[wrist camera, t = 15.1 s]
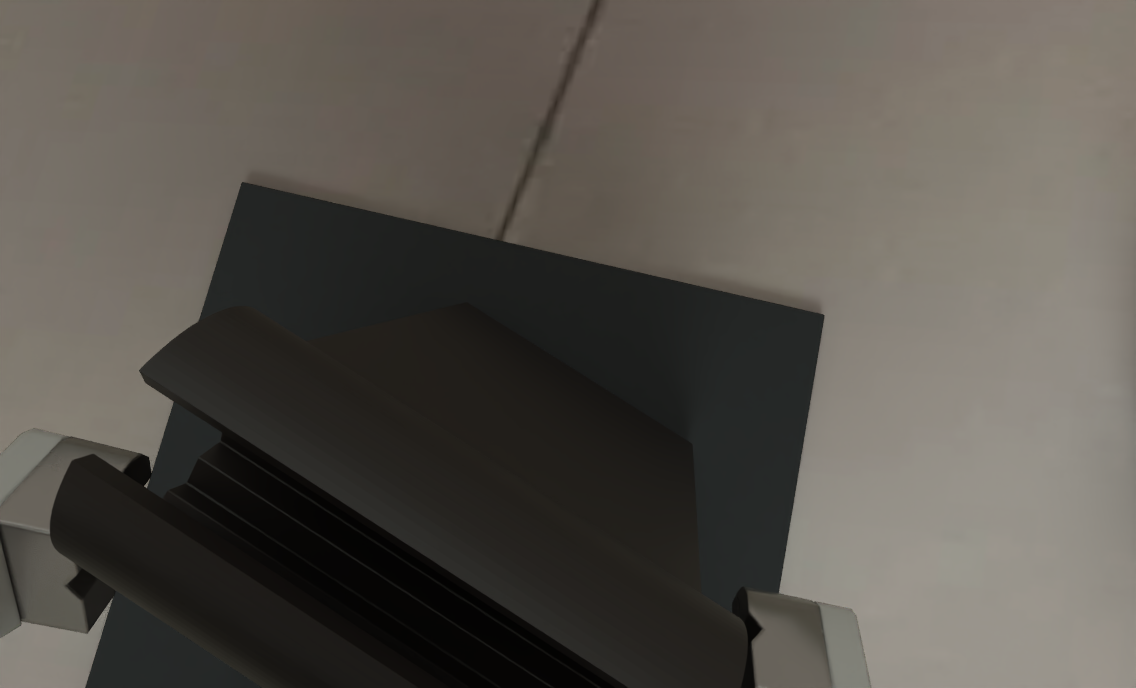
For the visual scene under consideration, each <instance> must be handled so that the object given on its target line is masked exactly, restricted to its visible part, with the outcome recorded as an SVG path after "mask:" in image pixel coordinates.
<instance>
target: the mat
mask: <svg viewBox="0 0 1136 688" xmlns="http://www.w3.org/2000/svg"><path fill="white" fill-rule="evenodd" d="M465 302H468V303H469V304H471V305H472V306H474V307H476V308H477V309H479V310H480V311H482V312H484V313H485V314H487V315H488V316H490V317H492V318H493V319H495V320H496V321H498V322H499V323H501V324H503V325H504V326H506V327H507V328H509V329H511V330H512V331H514V332H515V333H517V334H519V335H520V336H522V337H523V338H525V339H527V340H528V341H530V342H531V343H533V344H535V345H536V346H538V347H539V348H541V349H542V350H544V351H546V352H547V353H549V354H550V355H552V356H554V357H555V358H557V359H558V360H560V361H562V362H563V363H565V364H566V365H568V366H570V367H571V368H573V369H574V370H576V371H578V372H579V373H581V374H582V375H584V376H585V377H587V378H589V379H590V380H592V381H593V382H595V383H597V384H598V385H600V386H601V387H603V388H605V389H606V390H608V391H609V392H611V393H613V394H614V395H616V396H617V397H619V398H621V399H622V400H624V401H625V402H627V403H628V404H630V405H632V406H633V407H635V408H636V409H638V410H640V411H641V412H643V413H644V414H646V415H648V416H649V417H651V418H652V419H654V420H656V421H657V422H659V423H660V424H662V425H664V426H665V427H667V428H668V429H670V430H671V431H673V432H675V433H676V434H678V435H679V436H681V437H683V438H684V439H686V440H687V441H689V442H691V443H692V444H693V460H694V477H695V494H696V511H697V527H698V544H699V561H700V578H701V594H703V595H704V596H706V597H708V598H709V599H711V600H712V601H714V602H715V603H717V604H719V605H720V606H722V607H723V608H725V609H726V610H728V611H730V612H731V613H732V602H733V600H734V598H735V596H736V594H737V591H738V590H739V589H740V588H741V587H742V586H746V587H750V588H755V589H760V590H765V591H770V592H774V593H779V587H780V581H781V575H782V569H783V563H784V557H785V551H786V545H787V539H788V533H789V527H790V521H791V515H792V509H793V503H794V497H795V491H796V485H797V478H798V472H799V466H800V460H801V454H802V448H803V442H804V436H805V430H806V424H807V418H808V412H809V406H810V400H811V394H812V388H813V382H814V376H815V370H816V364H817V358H818V352H819V346H820V339H821V333H822V327H823V321H824V315H823V314H819V313H814V312H810V311H805V310H801V309H797V308H792V307H788V306H784V305H779V304H775V303H770V302H766V301H762V300H757V299H753V298H748V297H744V296H740V295H735V294H731V293H727V292H722V291H718V290H713V289H709V288H705V287H700V286H696V285H691V284H687V283H683V282H678V281H674V280H669V279H665V278H661V277H656V276H652V275H648V274H643V273H639V272H634V271H630V270H626V269H621V268H617V267H612V266H608V265H604V264H599V263H595V262H591V261H586V260H582V259H577V258H573V257H569V256H564V255H560V254H555V253H551V252H547V251H542V250H538V249H534V248H529V247H525V246H520V245H516V244H512V243H507V242H503V241H498V240H494V239H490V238H485V237H481V236H476V235H472V234H468V233H463V232H459V231H455V230H450V229H446V228H441V227H437V226H433V225H428V224H424V223H419V222H415V221H411V220H406V219H402V218H398V217H393V216H389V215H384V214H380V213H376V212H371V211H367V210H362V209H358V208H354V207H349V206H345V205H341V204H336V203H332V202H327V201H323V200H319V199H314V198H310V197H305V196H301V195H297V194H292V193H288V192H283V191H279V190H275V189H270V188H266V187H262V186H257V185H253V184H248V183H244V182H242V184H241V187H240V190H239V193H238V197H237V200H236V203H235V206H234V210H233V213H232V216H231V219H230V223H229V226H228V229H227V232H226V235H225V239H224V242H223V245H222V248H221V252H220V255H219V258H218V261H217V264H216V268H215V271H214V274H213V277H212V281H211V284H210V287H209V290H208V294H207V297H206V300H205V303H204V306H203V310H202V313H201V316H200V319H199V321H200V320H202V319H204V318H206V317H208V316H210V315H212V314H214V313H216V312H218V311H221V310H224V309H227V308H230V307H235V306H248V307H252V308H254V309H256V310H258V311H259V312H261V313H262V314H264V315H266V316H267V317H269V318H270V319H272V320H273V321H275V322H277V323H278V324H280V325H281V326H283V327H284V328H286V329H288V330H289V331H291V332H292V333H294V334H295V335H297V336H298V337H300V338H302V339H303V340H305V341H309V340H313V339H317V338H321V337H325V336H329V335H333V334H338V333H342V332H346V331H350V330H354V329H358V328H362V327H366V326H371V325H375V324H379V323H383V322H387V321H391V320H395V319H399V318H403V317H408V316H412V315H416V314H420V313H424V312H428V311H432V310H436V309H441V308H445V307H449V306H453V305H457V304H461V303H465ZM221 435H222V432H220V431H219V430H217V429H216V428H214V427H213V426H211V425H210V424H208V423H206V422H205V421H203V420H202V419H200V418H199V417H197V416H196V415H194V414H193V413H191V412H189V411H188V410H186V409H185V408H183V407H182V406H180V405H179V404H177V403H176V402H174V403H173V406H172V410H171V413H170V416H169V419H168V423H167V426H166V429H165V432H164V436H163V439H162V442H161V445H160V448H159V452H158V455H157V458H156V461H155V465H154V468H153V471H152V476H151V478H150V481H149V484H148V487H147V489H148V490H150V491H151V492H153V493H155V494H156V495H158V496H159V497H161V498H162V499H163V497H164V496H165V494H166V493H167V491H168V490H169V489H172V488H175V487H177V486H180V485H183V484H185V483H186V482H187V481H188V479H189V476H190V474H191V472H192V470H193V468H194V466H195V464H196V461H197V459H198V458H199V456H201V455H202V454H203V453H205V452H206V451H208V450H209V449H210V448H212V447H213V446H214V445H216V444H217V443H219V442H220V440H221ZM85 688H262V687H260V686H259V685H257V684H256V683H254V682H253V681H251V680H250V679H248V678H247V677H245V676H244V675H242V674H241V673H239V672H238V671H236V670H235V669H233V668H232V667H230V666H229V665H227V664H226V663H224V662H223V661H221V660H220V659H218V658H217V657H215V656H214V655H212V654H211V653H209V652H208V651H206V650H205V649H203V648H202V647H200V646H199V645H197V644H196V643H194V642H193V641H191V640H190V639H188V638H187V637H185V636H184V635H182V634H181V633H179V632H178V631H176V630H175V629H173V628H172V627H170V626H169V625H167V624H166V623H164V622H163V621H161V620H160V619H158V618H157V617H155V616H153V615H152V614H150V613H149V612H147V611H146V610H144V609H143V608H141V607H140V606H138V605H137V604H135V603H134V602H132V601H131V600H129V599H128V598H126V597H125V596H123V595H122V594H120V593H119V592H117V591H116V590H115V595H114V597H113V600H112V603H111V607H110V610H109V613H108V616H107V620H106V623H105V626H104V629H103V632H102V636H101V639H100V642H99V645H98V649H97V652H96V655H95V658H94V662H93V665H92V668H91V671H90V674H89V678H88V681H87V684H86V687H85Z"/></svg>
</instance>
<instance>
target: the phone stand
mask: <svg viewBox="0 0 1136 688" xmlns="http://www.w3.org/2000/svg"><path fill="white" fill-rule="evenodd" d="M139 372H140V373H141V375H142V377H143V379H144V381H145V383H146V384H148V385H149V386H151V387H152V388H154V389H156V390H157V391H159V392H160V393H162V394H163V395H165V396H166V397H168V398H169V399H171V400H173V401H174V402H176V403H177V404H179V405H180V406H182V407H183V408H185V409H186V410H188V411H189V412H191V413H193V414H194V415H196V416H197V417H199V418H200V419H202V420H203V421H205V422H206V423H208V424H210V425H211V426H213V427H214V428H216V429H217V430H219V431H220V432H222V435H221V440H220V442H219V443H217V444H216V445H214V446H213V447H212V448H210V449H209V450H208V451H206V452H205V453H203V454H202V455H201V456H199V458H198V459H197V461H196V464H195V466H194V468H193V470H192V472H191V474H190V476H189V479H188V481H187V482H186V483H185V484H183V485H180V486H177V487H175V488H172V489H169V490H168V491H167V493H166V494H165V496H164V497H163V499H162V498H161V497H159V496H158V495H156V494H155V493H153V492H151V491H150V490H148V489H147V488H145V487H144V486H142V485H141V484H139V483H138V482H136V481H135V480H133V479H132V478H130V477H129V476H127V475H126V474H124V473H123V472H121V471H119V470H118V469H116V468H115V467H113V466H112V465H110V464H109V463H107V462H106V461H104V460H103V459H101V458H100V457H98V456H97V455H95V454H90V455H87V456H84V457H80V458H77V459H74V460H72V461H71V463H70V465H69V467H68V469H67V471H66V473H65V475H64V477H63V480H62V482H61V484H60V487H59V489H58V492H57V495H56V498H55V501H54V504H53V508H52V512H51V518H50V538H51V542H52V544H53V546H54V548H55V549H56V550H57V551H58V552H59V553H60V554H62V555H63V556H65V557H66V558H68V559H69V560H71V561H72V562H74V563H75V564H77V565H78V566H80V567H81V568H83V569H84V570H86V571H87V572H89V573H90V574H92V575H93V576H95V577H96V578H98V579H99V580H101V581H102V582H104V583H105V584H107V585H108V586H110V587H111V588H113V589H114V590H116V591H117V592H119V593H120V594H122V595H123V596H125V597H126V598H128V599H129V600H131V601H132V602H134V603H135V604H137V605H138V606H140V607H141V608H143V609H144V610H146V611H147V612H149V613H150V614H152V615H153V616H155V617H157V618H158V619H160V620H161V621H163V622H164V623H166V624H167V625H169V626H170V627H172V628H173V629H175V630H176V631H178V632H179V633H181V634H182V635H184V636H185V637H187V638H188V639H190V640H191V641H193V642H194V643H196V644H197V645H199V646H200V647H202V648H203V649H205V650H206V651H208V652H209V653H211V654H212V655H214V656H215V657H217V658H218V659H220V660H221V661H223V662H224V663H226V664H227V665H229V666H230V667H232V668H233V669H235V670H236V671H238V672H239V673H241V674H242V675H244V676H245V677H247V678H248V679H250V680H251V681H253V682H254V683H256V684H257V685H259V686H260V687H262V688H741V684H742V680H743V676H744V671H745V666H746V660H747V650H748V636H747V630H746V626H745V624H744V622H743V621H742V620H741V619H740V618H739V617H737V616H736V615H734V614H733V613H731V612H730V611H728V610H726V609H725V608H723V607H722V606H720V605H719V604H717V603H715V602H714V601H712V600H711V599H709V598H708V597H706V596H704V595H703V594H701V578H700V561H699V544H698V527H697V511H696V494H695V477H694V460H693V444H692V443H691V442H689V441H687V440H686V439H684V438H683V437H681V436H679V435H678V434H676V433H675V432H673V431H671V430H670V429H668V428H667V427H665V426H664V425H662V424H660V423H659V422H657V421H656V420H654V419H652V418H651V417H649V416H648V415H646V414H644V413H643V412H641V411H640V410H638V409H636V408H635V407H633V406H632V405H630V404H628V403H627V402H625V401H624V400H622V399H621V398H619V397H617V396H616V395H614V394H613V393H611V392H609V391H608V390H606V389H605V388H603V387H601V386H600V385H598V384H597V383H595V382H593V381H592V380H590V379H589V378H587V377H585V376H584V375H582V374H581V373H579V372H578V371H576V370H574V369H573V368H571V367H570V366H568V365H566V364H565V363H563V362H562V361H560V360H558V359H557V358H555V357H554V356H552V355H550V354H549V353H547V352H546V351H544V350H542V349H541V348H539V347H538V346H536V345H535V344H533V343H531V342H530V341H528V340H527V339H525V338H523V337H522V336H520V335H519V334H517V333H515V332H514V331H512V330H511V329H509V328H507V327H506V326H504V325H503V324H501V323H499V322H498V321H496V320H495V319H493V318H492V317H490V316H488V315H487V314H485V313H484V312H482V311H480V310H479V309H477V308H476V307H474V306H472V305H471V304H469V303H468V302H465V303H461V304H457V305H453V306H449V307H445V308H441V309H436V310H432V311H428V312H424V313H420V314H416V315H412V316H408V317H403V318H399V319H395V320H391V321H387V322H383V323H379V324H375V325H371V326H366V327H362V328H358V329H354V330H350V331H346V332H342V333H338V334H333V335H329V336H325V337H321V338H317V339H313V340H309V341H305V340H303V339H302V338H300V337H298V336H297V335H295V334H294V333H292V332H291V331H289V330H288V329H286V328H284V327H283V326H281V325H280V324H278V323H277V322H275V321H273V320H272V319H270V318H269V317H267V316H266V315H264V314H262V313H261V312H259V311H258V310H256V309H254V308H252V307H248V306H235V307H230V308H227V309H224V310H221V311H218V312H216V313H214V314H212V315H210V316H208V317H206V318H204V319H202V320H200V321H199V322H197V323H195V324H194V325H192V326H191V327H189V328H188V329H186V330H185V331H184V332H182V333H181V334H179V335H178V336H177V337H176V338H174V339H173V340H172V341H170V342H169V343H168V344H167V345H166V346H165V347H163V348H162V349H161V350H160V351H159V352H158V353H157V354H155V355H154V356H153V357H152V358H151V359H150V360H149V361H148V362H147V363H146V364H145V365H144V366H143V367H142V368H141V369H140V370H139Z"/></svg>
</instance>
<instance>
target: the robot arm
mask: <svg viewBox="0 0 1136 688" xmlns="http://www.w3.org/2000/svg"><path fill="white" fill-rule="evenodd" d="M90 454H95V455H97V456H98V457H100V458H101V459H103V460H104V461H106V462H107V463H109V464H110V465H112V466H113V467H115V468H116V469H118V470H119V471H121V472H123V473H124V474H126V475H127V476H129V477H130V478H132V479H133V480H135V481H136V482H138V483H139V484H141V485H142V486H144V485H145V484H146V483H147V481H148V480H149V479H150V477H151V476H152V473H151V467H150V461H149V457H147V456H145V455H143V454H140V453H136V452H132V451H128V450H124V449H120V448H116V447H112V446H108V445H104V444H100V443H96V442H92V441H88V440H84V439H80V438H75V437H69V436H65V435H61V434H57V433H53V432H49V431H45V430H40V429H36V428H33V429H31V430H28V431H26V432H24V433H22V434H20V435H19V436H18V437H17V438H16V439H15V440H14V441H13V442H12V443H11V444H10V445H9V446H8V447H7V448H6V449H5V450H4V451H3V452H2V453H1V454H0V638H1V637H3V636H5V635H6V634H8V633H10V632H11V631H13V630H14V629H16V628H18V627H19V626H21V621H23V622H28V623H33V624H38V625H44V626H49V627H54V628H60V629H65V630H70V631H75V632H81V633H86V634H87V633H88V632H89V631H90V629H91V628H92V626H93V625H94V623H95V622H96V621H97V619H98V618H99V616H100V615H101V613H102V612H103V611H104V609H105V608H106V606H107V605H108V603H109V602H110V600H111V599H112V598H113V596H114V595H115V590H114V589H113V588H111V587H110V586H108V585H107V584H105V583H104V582H102V581H101V580H99V579H98V578H96V577H95V576H93V575H92V574H90V573H89V572H87V571H86V570H84V569H83V568H81V567H80V566H78V565H77V564H75V563H74V562H72V561H71V560H69V559H68V558H66V557H65V556H63V555H62V554H60V553H59V552H58V551H57V550H56V549H55V548H54V546H53V544H52V542H51V538H50V518H51V512H52V508H53V504H54V501H55V498H56V495H57V492H58V489H59V487H60V484H61V482H62V480H63V477H64V475H65V473H66V471H67V469H68V467H69V465H70V463H71V461H72V460H74V459H77V458H80V457H84V456H87V455H90ZM732 613H733V614H734V615H736V616H737V617H739V618H740V619H741V620H742V621H743V622H744V624H745V626H746V630H747V636H748V650H747V660H746V666H745V671H744V676H743V680H742V684H741V688H872V687H871V683H870V678H869V673H868V668H867V664H866V659H865V654H864V649H863V645H862V640H861V635H860V630H859V626H858V621H857V616H856V615H855V613H854V612H853V610H852V609H849V608H844V607H839V606H835V605H830V604H825V603H821V602H813V601H812V600H808V599H803V598H798V597H793V596H789V595H784V594H779V593H774V592H770V591H765V590H760V589H755V588H750V587H746V586H742V587H741V588H740V589H739V590H738V591H737V594H736V596H735V598H734V600H733V602H732Z"/></svg>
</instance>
